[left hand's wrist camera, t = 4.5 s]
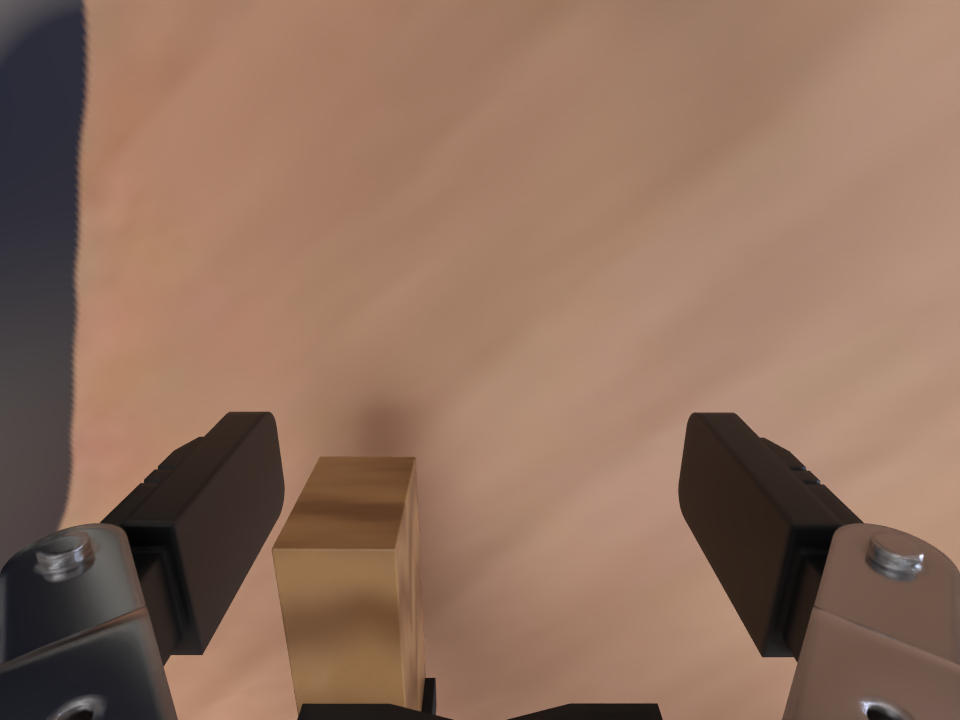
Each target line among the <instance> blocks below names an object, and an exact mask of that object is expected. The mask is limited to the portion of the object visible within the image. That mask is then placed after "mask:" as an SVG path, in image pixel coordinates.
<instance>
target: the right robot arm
mask: <svg viewBox="0 0 960 720" xmlns="http://www.w3.org/2000/svg"><path fill="white" fill-rule="evenodd" d="M421 712H425V713H429V714H433V715H436V682H435V678H425V683H424V692H423V701H422V711H421Z"/></svg>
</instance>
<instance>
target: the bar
mask: <svg viewBox="0 0 960 720" xmlns="http://www.w3.org/2000/svg"><path fill="white" fill-rule="evenodd" d="M272 554H273V560H274V567H275V573H276V579H277V585H278V592H279V598H280V604H281V610H282V617H283V623H284V629H285V635H286V642H287V648H288V654H289V660H290V667H291V673H292V679H293V685H294V692H295V698H296V704H297V710H298V716H299V713H300V710H301V707H302V704H393V705H397V706H401V707H405V708H409V709H413V710H417V711H422V701H423V692H424V683H425V678H426V673H425V652H424V630H423V608H422V586H421V564H420V543H419V521H418V499H417V477H416V458H415V457H320V458H319V460H318V462H317V464H316V466H315V468H314V469H313V471H312V473H311V475H310V477H309V479H308V481H307V483H306V485H305V487H304V489H303V490H302V492H301V494H300V496H299V498H298V500H297V502H296V504H295V506H294V508H293V510H292V512H291V513H290V515H289V517H288V519H287V521H286V523H285V525H284V527H283V529H282V531H281V533H280V534H279V536H278V538H277V540H276V542H275V544H274V546H273V548H272Z"/></svg>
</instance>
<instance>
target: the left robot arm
mask: <svg viewBox="0 0 960 720" xmlns="http://www.w3.org/2000/svg"><path fill="white" fill-rule="evenodd" d="M284 490H285V488H284V477H283V470H282V463H281V455H280V448H279V441H278V434H277V426H276V421H275V418H274V416H273V414H272V413H271V412H229V413H227V414H226V415H225V416H224V417H223V418H222V419H221V420H220V421H219V422H218V423H217V424H216V425H215V426H214V427H213V428H212V429H211V430H210V431H209V432H208V433H207V434H206V435H205V436H204V437H198V438H196V439H195V440H193V441H191V442H189V443H187V444H185V445H183V446H182V447H180V448H178V449H176V450H174V451H173V452H172V453H171V454H170V455H169V456H168V457H167V458H166V459H165V460H164V461H163V462H162V463H161V464H160V465H159V466H158V470H154V471H153V472H152V473H151V474H150V475H149V476H148V477H147V478H145V479H144V483H140V484H139V485H138V486H137V487H136V488H135V489H134V490H133V491H132V492H131V493H130V494H129V495H128V496H127V497H126V498H125V499H124V500H123V501H122V502H121V503H120V504H119V505H118V506H117V507H116V508H115V509H113V510H112V511H111V512H110V513H109V514H108V515H107V516H106V517H105V518H104V519H103V520H102V521H101V522H100V523H94V524H85V525H79V526H74V527H71V528H67V529H63V530H60V531H58V532H55V533H52V534H50V535H47V536H45V537H43V538H41V539H39V540H37V541H35V542H33V543H31V544H30V545H28V546H26V547H25V548H23V549H22V550H20V551H19V552H18V553H16V554H15V555H14V556H13V557H12V558H11V559H10V560H9V561H8V562H7V563H6V564H5V565H4V567H3V569H2V570H1V572H0V720H178V719H177V715H176V711H175V708H174V704H173V700H172V697H171V693H170V689H169V686H168V682H167V678H166V675H165V671H164V665H165V664H166V662H167V660H168V659H169V657H170V655H203V653H204V651H205V649H206V647H207V646H208V644H209V642H210V640H211V638H212V637H213V635H214V633H215V631H216V629H217V628H218V626H219V624H220V622H221V620H222V619H223V617H224V615H225V613H226V611H227V610H228V608H229V606H230V604H231V602H232V601H233V599H234V597H235V595H236V593H237V592H238V590H239V588H240V586H241V584H242V583H243V581H244V579H245V577H246V575H247V574H248V572H249V570H250V568H251V566H252V565H253V563H254V561H255V559H256V557H257V555H258V554H259V552H260V550H261V548H262V546H263V545H264V543H265V541H266V539H267V537H268V536H269V534H270V532H271V530H272V528H273V527H274V525H275V523H276V521H277V519H278V518H279V516H280V513H281V510H282V507H283V502H284ZM678 491H679V503H680V508H681V511H682V514H683V517H684V519H685V520H686V522H687V524H688V526H689V527H690V529H691V531H692V533H693V535H694V536H695V538H696V540H697V542H698V544H699V545H700V547H701V549H702V551H703V552H704V554H705V556H706V558H707V560H708V561H709V563H710V565H711V567H712V568H713V570H714V572H715V574H716V576H717V577H718V579H719V581H720V583H721V584H722V586H723V588H724V590H725V592H726V593H727V595H728V597H729V599H730V601H731V602H732V604H733V606H734V608H735V609H736V611H737V613H738V615H739V617H740V618H741V620H742V622H743V624H744V625H745V627H746V629H747V631H748V633H749V634H750V636H751V638H752V640H753V641H754V643H755V645H756V647H757V649H758V650H759V652H760V654H761V656H762V657H794V658H795V659H796V661H797V662H798V664H797V667H796V671H795V675H794V678H793V682H792V686H791V689H790V693H789V697H788V700H787V704H786V708H785V711H784V715H783V719H782V720H960V572H959V570H958V569H957V567H956V565H955V564H954V563H953V562H952V561H951V560H950V559H949V558H948V557H947V556H946V555H945V554H944V553H942V552H941V551H940V550H938V549H937V548H935V547H934V546H932V545H930V544H929V543H927V542H925V541H923V540H921V539H919V538H917V537H915V536H913V535H910V534H908V533H905V532H902V531H900V530H897V529H893V528H889V527H886V526H881V525H875V524H866V523H863V522H862V521H861V520H860V519H859V518H858V517H857V516H856V515H855V514H854V513H853V512H852V511H851V510H850V509H849V508H848V507H847V506H846V505H845V504H844V503H843V502H842V501H840V500H839V499H838V498H837V497H836V496H835V495H834V494H833V493H832V492H831V491H830V490H829V489H828V488H827V487H826V486H825V485H821V484H820V480H819V479H818V478H817V477H815V476H814V475H813V474H812V473H811V472H810V471H806V467H805V466H804V465H803V464H802V463H801V462H800V461H799V460H798V459H797V458H796V457H795V456H794V455H793V454H792V453H790V452H789V451H788V450H786V449H784V448H782V447H780V446H778V445H777V444H775V443H773V442H771V441H769V440H767V439H765V438H759V437H758V436H757V435H756V434H755V433H754V432H753V431H752V430H751V428H750V427H749V426H748V425H747V424H746V423H745V422H744V421H743V420H742V419H741V418H740V417H739V416H738V415H737V414H735V413H692V414H691V416H690V417H689V420H688V423H687V428H686V435H685V442H684V450H683V457H682V464H681V471H680V478H679V489H678ZM297 720H452V719H448V718H444V717H440V716H437V715H433V714H429V713H425V712H421V711H417V710H413V709H409V708H405V707H401V706H397V705H393V704H302V707H301V710H300V713H299V716H298V719H297ZM508 720H663V719H662V716H661V713H660V710H659V707H658V704H567V705H563V706H559V707H555V708H551V709H547V710H543V711H539V712H535V713H531V714H527V715H523V716H520V717H516V718H512V719H508Z"/></svg>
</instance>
